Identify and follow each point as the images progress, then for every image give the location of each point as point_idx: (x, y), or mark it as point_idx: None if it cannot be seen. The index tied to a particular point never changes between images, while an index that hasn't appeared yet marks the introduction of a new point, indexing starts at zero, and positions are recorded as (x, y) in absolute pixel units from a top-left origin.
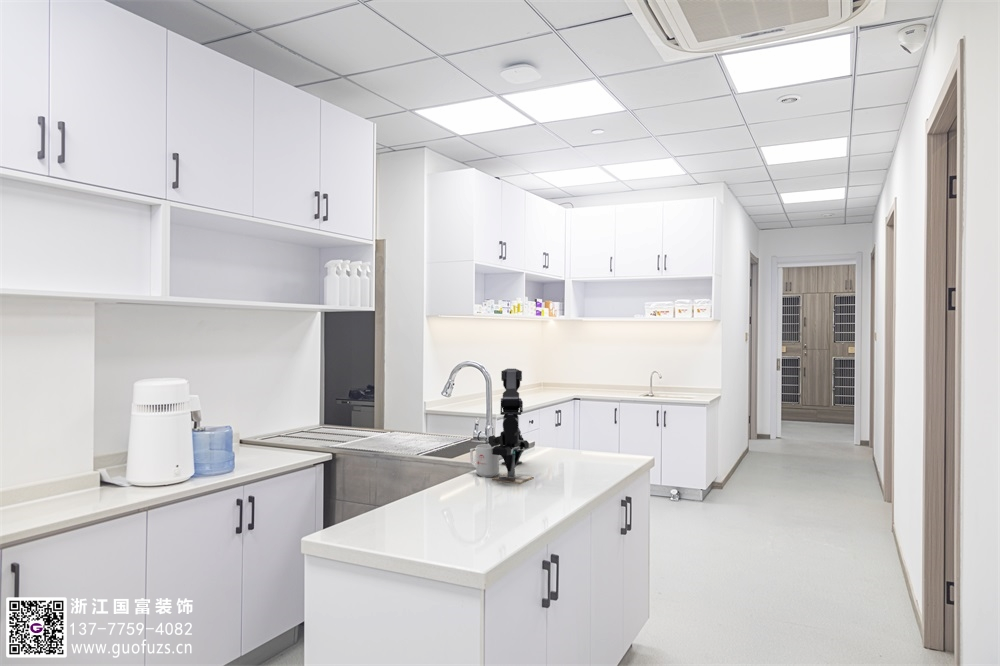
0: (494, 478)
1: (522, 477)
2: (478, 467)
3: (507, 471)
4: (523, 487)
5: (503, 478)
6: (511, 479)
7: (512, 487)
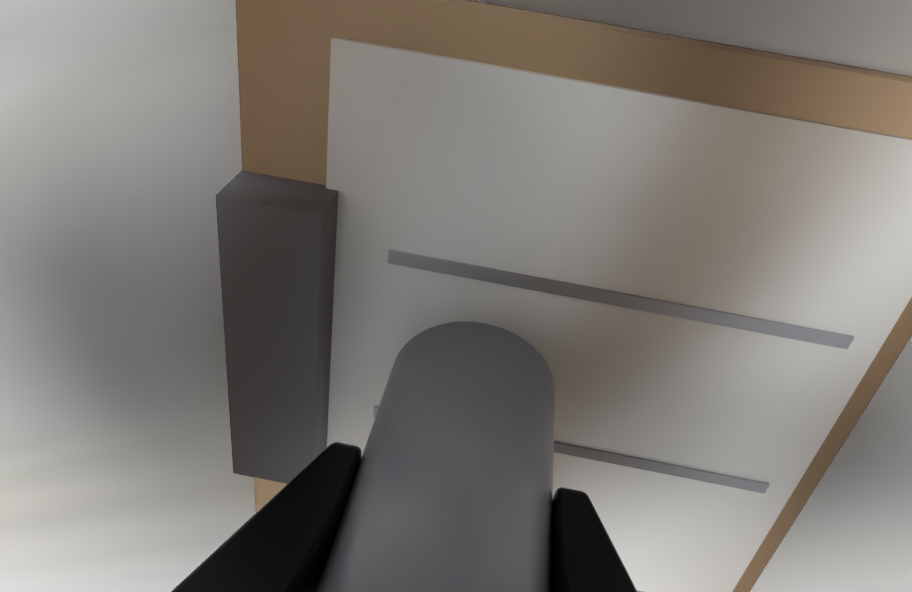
0: (334, 7)
1: (613, 510)
2: None
3: (404, 407)
4: (119, 563)
5: (226, 296)
6: (235, 440)
7: (23, 460)
